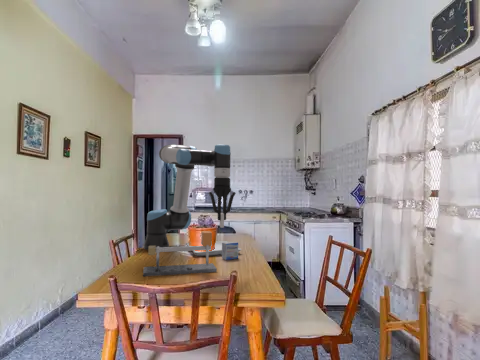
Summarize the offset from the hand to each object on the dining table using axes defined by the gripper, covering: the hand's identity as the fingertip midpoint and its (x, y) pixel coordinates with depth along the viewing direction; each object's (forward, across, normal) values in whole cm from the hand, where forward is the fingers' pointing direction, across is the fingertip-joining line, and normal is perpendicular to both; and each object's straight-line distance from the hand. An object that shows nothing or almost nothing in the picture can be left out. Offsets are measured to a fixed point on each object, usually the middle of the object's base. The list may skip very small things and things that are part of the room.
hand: (221, 227), depth 150 cm
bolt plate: (+20, -19, 0) cm, 27 cm away
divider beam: (+17, -19, 0) cm, 26 cm away
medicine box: (+20, +9, +20) cm, 29 cm away
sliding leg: (+17, -7, 0) cm, 19 cm away
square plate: (+20, +3, +40) cm, 44 cm away
